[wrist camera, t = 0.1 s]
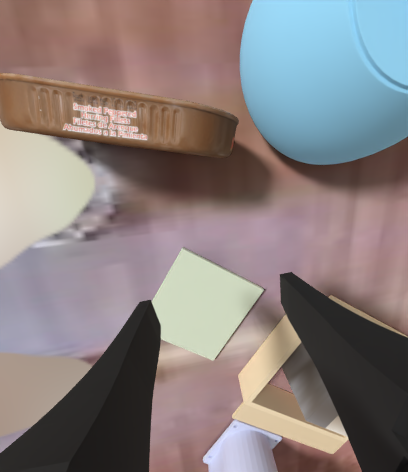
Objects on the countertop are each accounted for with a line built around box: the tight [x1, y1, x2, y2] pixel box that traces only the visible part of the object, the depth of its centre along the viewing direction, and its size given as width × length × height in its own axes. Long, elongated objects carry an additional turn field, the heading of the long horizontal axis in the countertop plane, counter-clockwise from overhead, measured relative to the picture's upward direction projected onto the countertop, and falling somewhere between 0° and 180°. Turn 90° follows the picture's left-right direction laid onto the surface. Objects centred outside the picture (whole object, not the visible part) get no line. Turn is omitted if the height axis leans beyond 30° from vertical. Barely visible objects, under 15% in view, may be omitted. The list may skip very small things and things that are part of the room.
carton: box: [232, 295, 408, 454], centre depth 26 cm, size 18×15×4 cm
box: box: [282, 342, 348, 437], centre depth 24 cm, size 4×9×7 cm, turn 61°
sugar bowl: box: [240, 0, 408, 165], centre depth 13 cm, size 15×15×12 cm
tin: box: [0, 73, 239, 158], centre depth 15 cm, size 15×3×8 cm, turn 83°
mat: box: [152, 247, 264, 360], centre depth 24 cm, size 11×10×1 cm
